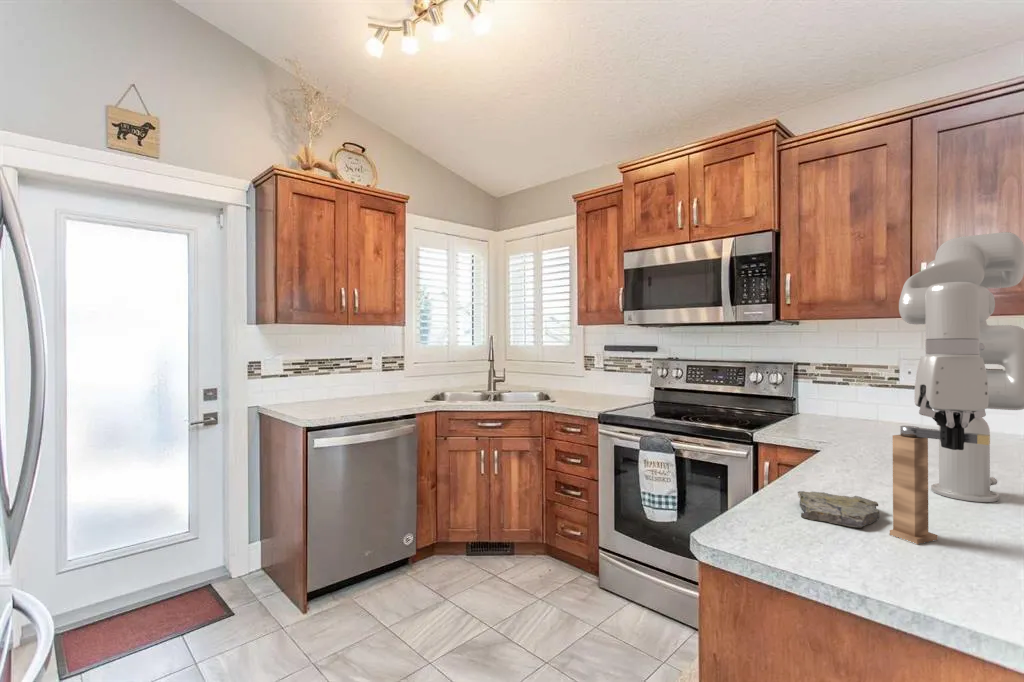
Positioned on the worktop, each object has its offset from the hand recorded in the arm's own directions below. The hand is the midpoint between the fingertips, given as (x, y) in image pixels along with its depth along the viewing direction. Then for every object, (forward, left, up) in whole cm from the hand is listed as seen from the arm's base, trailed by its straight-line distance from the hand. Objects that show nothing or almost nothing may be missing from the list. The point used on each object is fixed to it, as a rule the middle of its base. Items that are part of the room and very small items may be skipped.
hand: (952, 448), depth 92 cm
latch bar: (-2, -3, +1) cm, 4 cm away
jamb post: (0, -7, -19) cm, 21 cm away
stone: (+2, -20, -20) cm, 29 cm away
